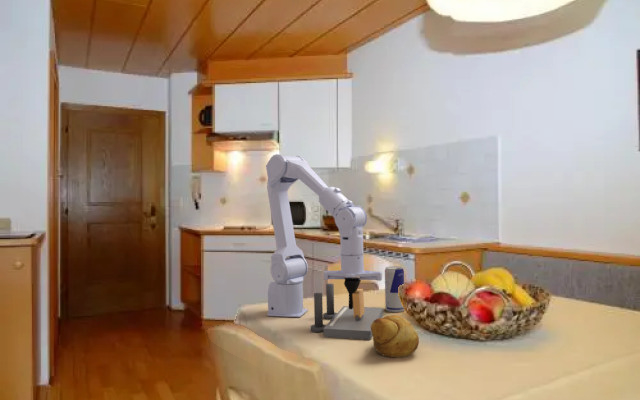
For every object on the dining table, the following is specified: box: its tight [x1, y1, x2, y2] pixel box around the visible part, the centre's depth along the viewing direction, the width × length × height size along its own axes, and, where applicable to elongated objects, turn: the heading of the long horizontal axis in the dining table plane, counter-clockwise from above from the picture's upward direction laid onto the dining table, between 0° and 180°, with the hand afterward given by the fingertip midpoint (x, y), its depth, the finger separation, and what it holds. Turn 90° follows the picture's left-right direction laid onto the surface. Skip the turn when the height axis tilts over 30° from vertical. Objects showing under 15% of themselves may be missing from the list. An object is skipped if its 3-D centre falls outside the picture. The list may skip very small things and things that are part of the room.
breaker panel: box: [323, 305, 384, 341], centre depth 120 cm, size 11×22×2 cm, turn 165°
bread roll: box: [371, 314, 420, 358], centre depth 101 cm, size 13×10×8 cm
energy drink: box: [384, 265, 405, 313], centre depth 134 cm, size 5×5×12 cm
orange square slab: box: [352, 288, 365, 320], centre depth 120 cm, size 2×6×6 cm, turn 165°
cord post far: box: [323, 283, 338, 321], centre depth 128 cm, size 4×4×9 cm
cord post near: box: [310, 292, 327, 334], centre depth 116 cm, size 4×4×9 cm
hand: (353, 308), depth 120 cm, fingers closed, pressing on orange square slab
